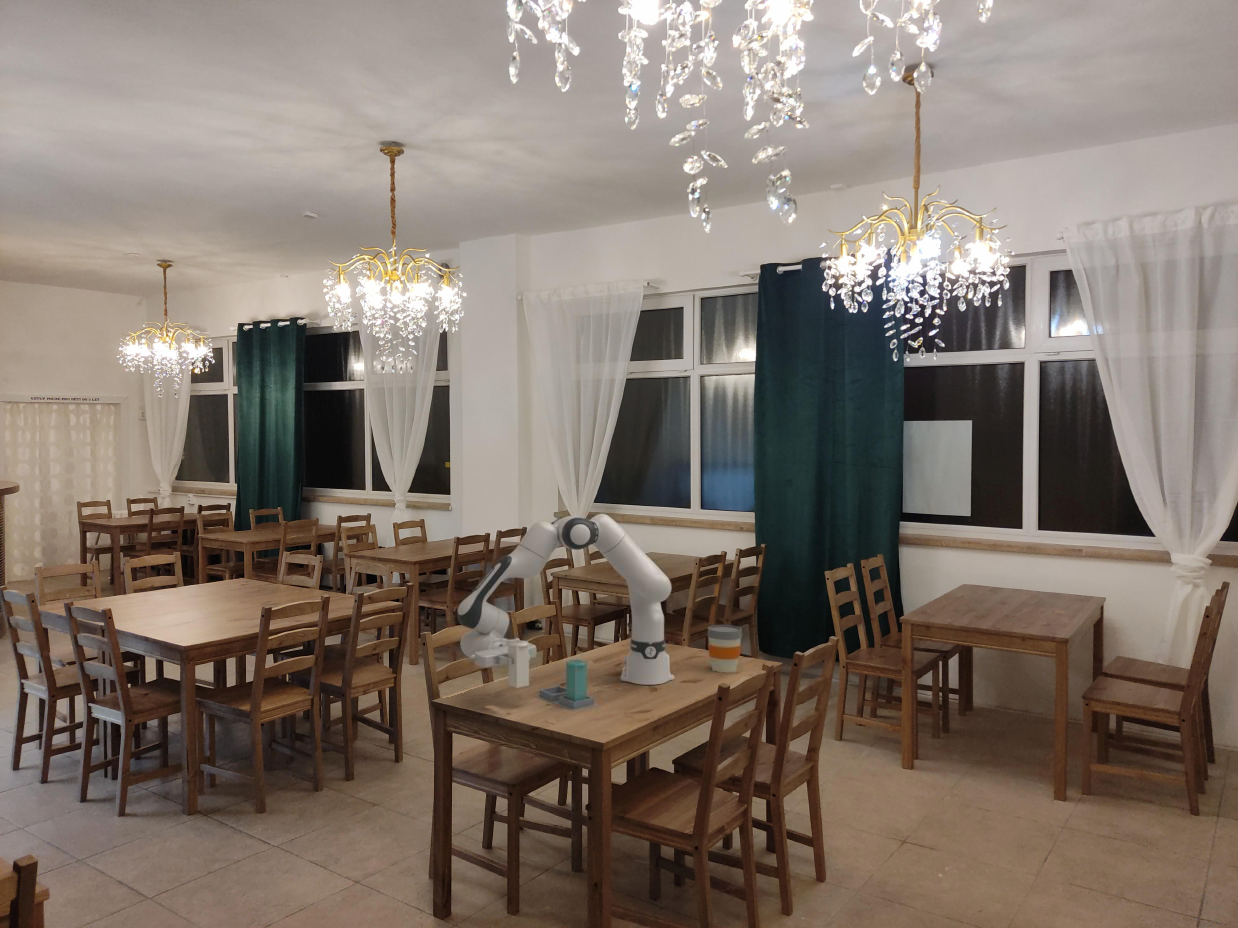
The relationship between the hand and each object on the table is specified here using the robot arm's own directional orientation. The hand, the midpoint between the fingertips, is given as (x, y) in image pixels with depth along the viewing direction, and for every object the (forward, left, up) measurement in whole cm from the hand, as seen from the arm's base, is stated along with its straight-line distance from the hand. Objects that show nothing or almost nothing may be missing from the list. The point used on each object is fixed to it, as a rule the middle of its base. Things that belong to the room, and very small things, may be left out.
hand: (520, 659), depth 267 cm
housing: (-5, +14, -16) cm, 22 cm away
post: (-1, 0, -8) cm, 8 cm away
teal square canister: (-1, +17, -14) cm, 22 cm away
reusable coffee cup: (-42, +74, -16) cm, 87 cm away
